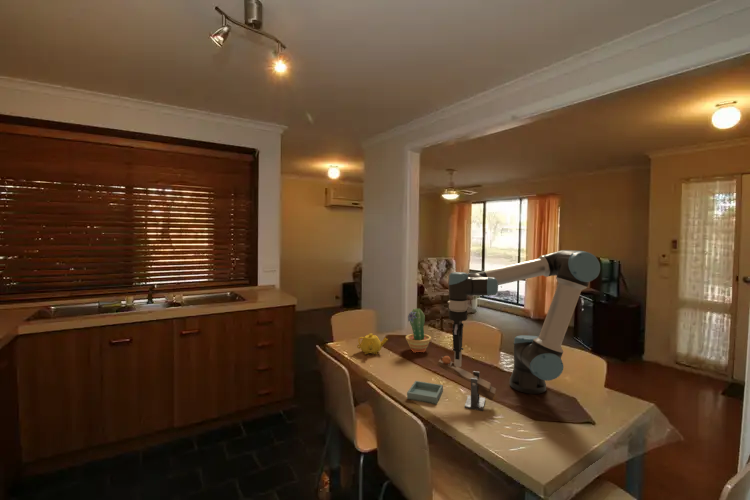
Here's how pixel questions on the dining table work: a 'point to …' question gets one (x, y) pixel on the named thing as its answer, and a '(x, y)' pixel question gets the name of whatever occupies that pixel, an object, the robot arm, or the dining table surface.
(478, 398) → the stand
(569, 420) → the dining table surface
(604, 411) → the dining table surface
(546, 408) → the dining table surface
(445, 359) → the ball
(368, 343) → the teapot
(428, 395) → the dish
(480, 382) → the lever
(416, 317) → the potted cactus
